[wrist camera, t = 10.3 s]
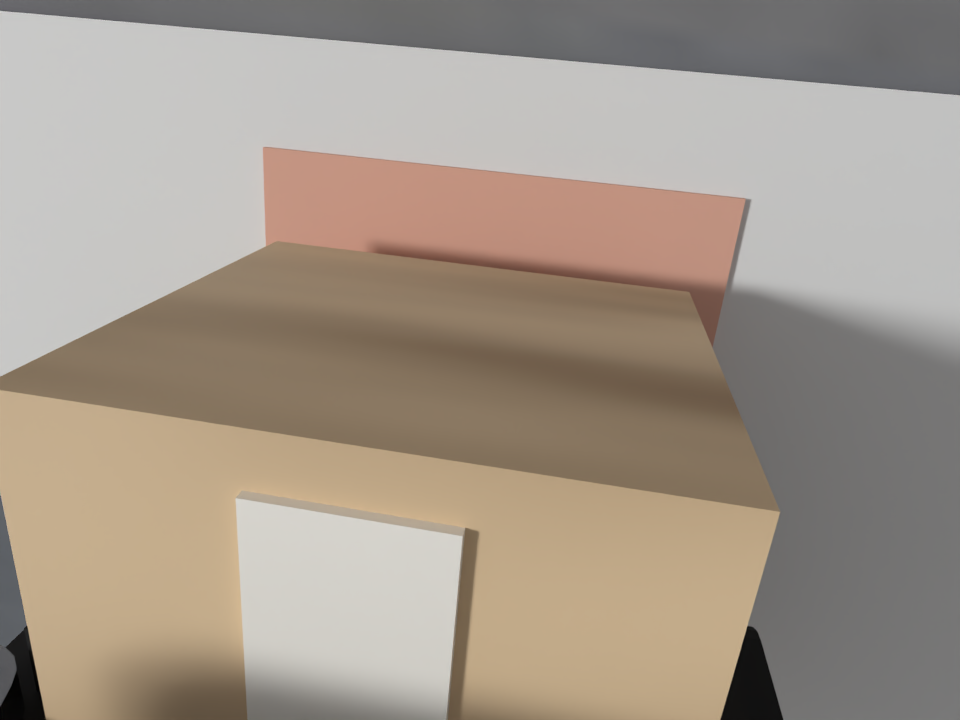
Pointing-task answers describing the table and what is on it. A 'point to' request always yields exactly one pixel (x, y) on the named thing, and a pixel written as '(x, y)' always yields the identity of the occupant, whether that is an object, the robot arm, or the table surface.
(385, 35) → the table surface
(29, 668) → the robot arm
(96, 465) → the card box
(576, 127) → the mat
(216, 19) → the table surface
